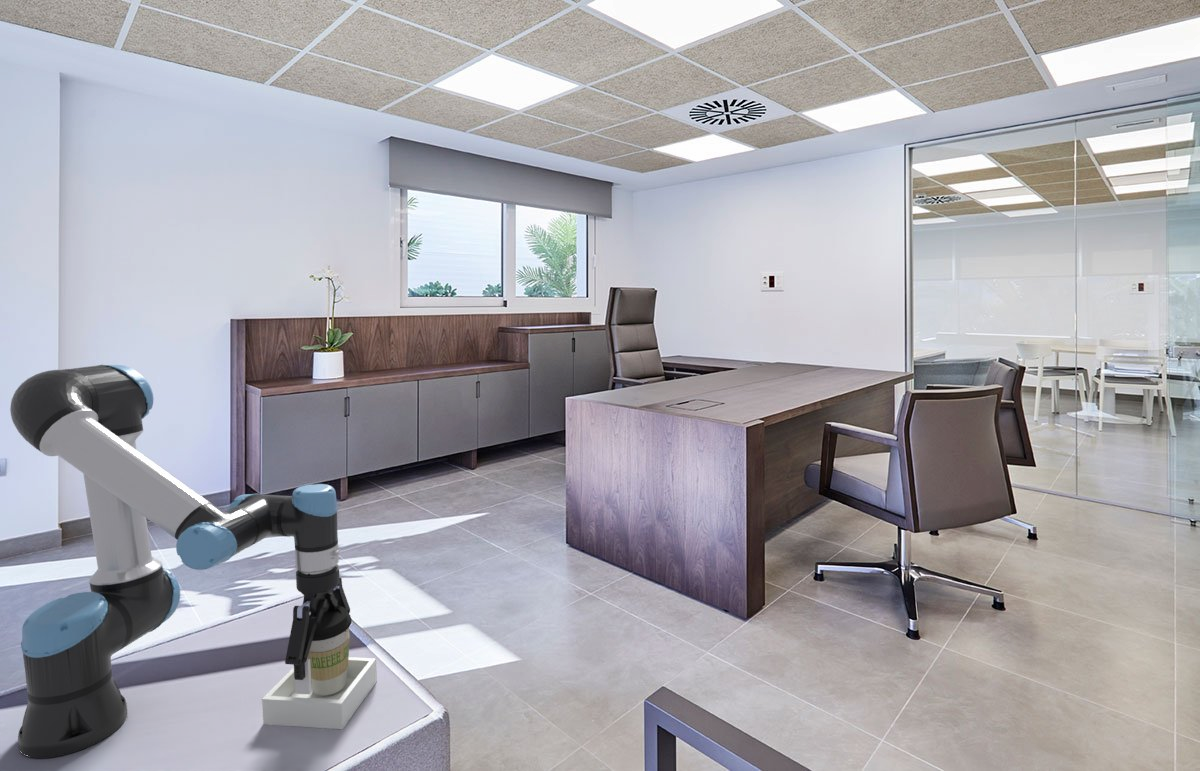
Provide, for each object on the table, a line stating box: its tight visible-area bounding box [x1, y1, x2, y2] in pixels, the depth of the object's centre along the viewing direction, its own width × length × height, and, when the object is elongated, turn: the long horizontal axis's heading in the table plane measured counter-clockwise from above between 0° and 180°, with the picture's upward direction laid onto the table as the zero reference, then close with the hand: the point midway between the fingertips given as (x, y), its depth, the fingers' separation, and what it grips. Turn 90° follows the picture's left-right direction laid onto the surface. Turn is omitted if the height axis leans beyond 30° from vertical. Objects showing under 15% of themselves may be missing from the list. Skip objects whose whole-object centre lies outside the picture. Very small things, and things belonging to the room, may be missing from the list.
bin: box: [261, 656, 378, 730], centre depth 124 cm, size 15×15×5 cm
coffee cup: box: [307, 605, 352, 695], centre depth 125 cm, size 10×10×15 cm
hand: (321, 672), depth 123 cm, fingers open, 13 cm apart
